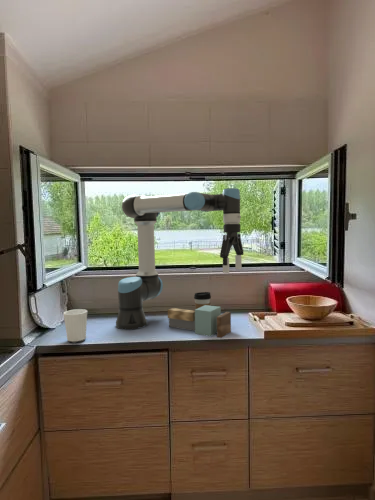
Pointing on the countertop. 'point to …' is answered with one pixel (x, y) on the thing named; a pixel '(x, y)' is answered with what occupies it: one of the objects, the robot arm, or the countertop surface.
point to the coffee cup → (202, 299)
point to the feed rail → (182, 324)
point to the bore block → (206, 320)
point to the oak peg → (181, 314)
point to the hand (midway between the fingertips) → (232, 270)
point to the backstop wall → (223, 324)
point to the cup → (75, 325)
